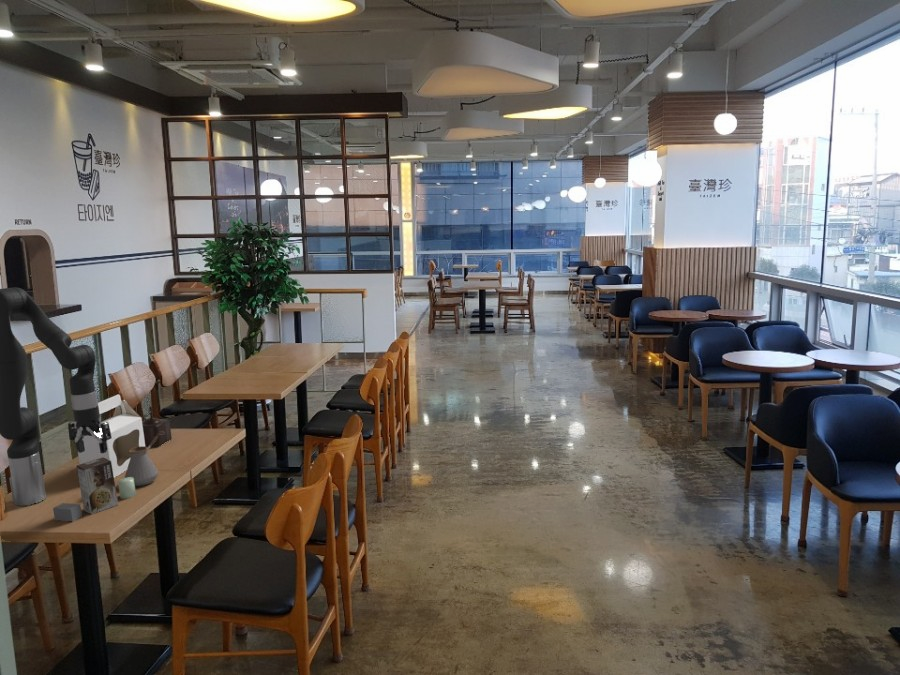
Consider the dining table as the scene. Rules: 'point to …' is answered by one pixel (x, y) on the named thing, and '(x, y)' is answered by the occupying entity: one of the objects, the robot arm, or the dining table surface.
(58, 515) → the charcoal block
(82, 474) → the coffee box
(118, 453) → the gable box
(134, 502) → the dining table surface
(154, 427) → the manual coffee grinder
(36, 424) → the robot arm
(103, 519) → the dining table surface
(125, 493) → the sage cylinder
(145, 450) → the coffee pot
